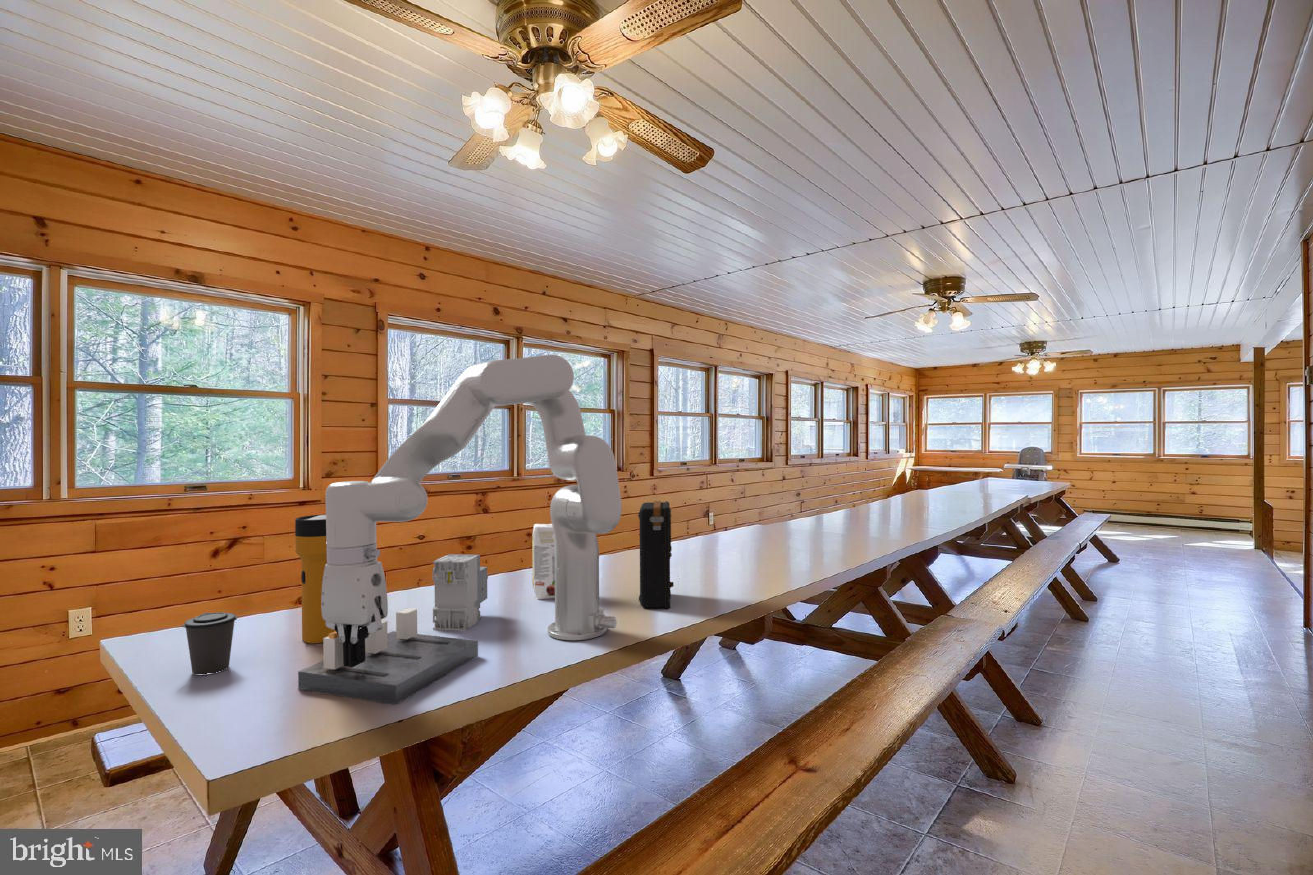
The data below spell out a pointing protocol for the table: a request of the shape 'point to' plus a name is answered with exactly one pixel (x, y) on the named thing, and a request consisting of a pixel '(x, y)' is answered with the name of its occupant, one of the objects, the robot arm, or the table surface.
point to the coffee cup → (210, 641)
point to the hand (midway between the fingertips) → (354, 663)
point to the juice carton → (543, 561)
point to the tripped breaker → (332, 651)
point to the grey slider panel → (392, 669)
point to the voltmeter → (655, 554)
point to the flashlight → (312, 574)
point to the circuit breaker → (458, 591)
